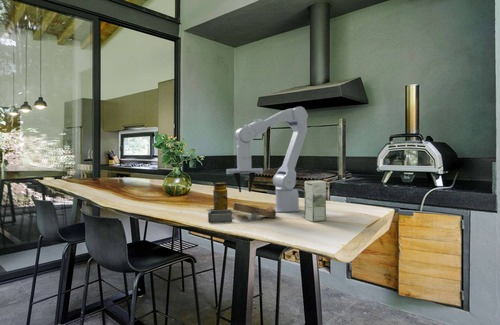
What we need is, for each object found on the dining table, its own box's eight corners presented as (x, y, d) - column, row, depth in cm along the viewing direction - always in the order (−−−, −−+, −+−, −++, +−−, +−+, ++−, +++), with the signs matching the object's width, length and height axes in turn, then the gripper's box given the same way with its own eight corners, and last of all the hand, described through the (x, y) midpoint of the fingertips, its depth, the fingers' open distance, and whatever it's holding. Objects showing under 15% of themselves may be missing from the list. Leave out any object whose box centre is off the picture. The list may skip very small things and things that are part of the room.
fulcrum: (259, 215, 126) (259, 208, 126) (261, 220, 118) (261, 212, 118) (247, 215, 126) (246, 208, 126) (248, 220, 118) (248, 213, 118)
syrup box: (317, 217, 120) (317, 179, 120) (326, 220, 115) (326, 181, 114) (304, 219, 118) (303, 180, 118) (312, 222, 113) (312, 182, 112)
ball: (270, 214, 124) (274, 208, 124) (271, 216, 121) (275, 209, 121) (264, 209, 124) (268, 203, 124) (265, 211, 121) (269, 205, 121)
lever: (270, 211, 132) (271, 206, 132) (274, 218, 120) (276, 212, 120) (233, 204, 131) (234, 198, 131) (233, 209, 119) (234, 203, 119)
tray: (231, 216, 125) (231, 207, 125) (231, 221, 117) (231, 212, 117) (209, 217, 124) (209, 208, 124) (208, 222, 116) (208, 213, 116)
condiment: (231, 210, 137) (230, 183, 137) (214, 213, 133) (213, 184, 132) (223, 208, 143) (222, 181, 143) (206, 210, 139) (205, 183, 138)
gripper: (261, 157, 131) (261, 189, 132) (226, 157, 130) (226, 190, 131) (263, 157, 124) (263, 192, 125) (225, 158, 123) (226, 193, 124)
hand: (244, 191), depth 127 cm, fingers open, 3 cm apart
